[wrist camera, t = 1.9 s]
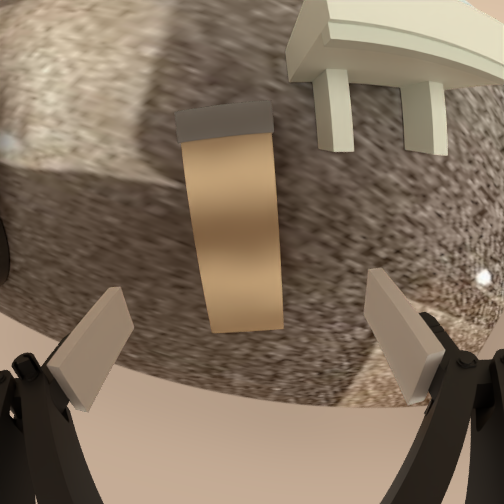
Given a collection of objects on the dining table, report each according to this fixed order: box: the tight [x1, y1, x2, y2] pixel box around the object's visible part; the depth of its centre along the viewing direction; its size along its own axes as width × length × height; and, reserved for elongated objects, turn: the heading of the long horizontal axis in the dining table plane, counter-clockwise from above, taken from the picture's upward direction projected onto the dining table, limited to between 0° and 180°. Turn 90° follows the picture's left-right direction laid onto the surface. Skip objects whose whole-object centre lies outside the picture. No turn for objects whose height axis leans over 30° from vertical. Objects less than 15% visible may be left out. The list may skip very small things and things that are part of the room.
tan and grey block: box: [174, 100, 284, 333], centre depth 22 cm, size 16×6×7 cm, turn 5°
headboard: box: [285, 0, 504, 156], centre depth 14 cm, size 14×9×14 cm, turn 95°
